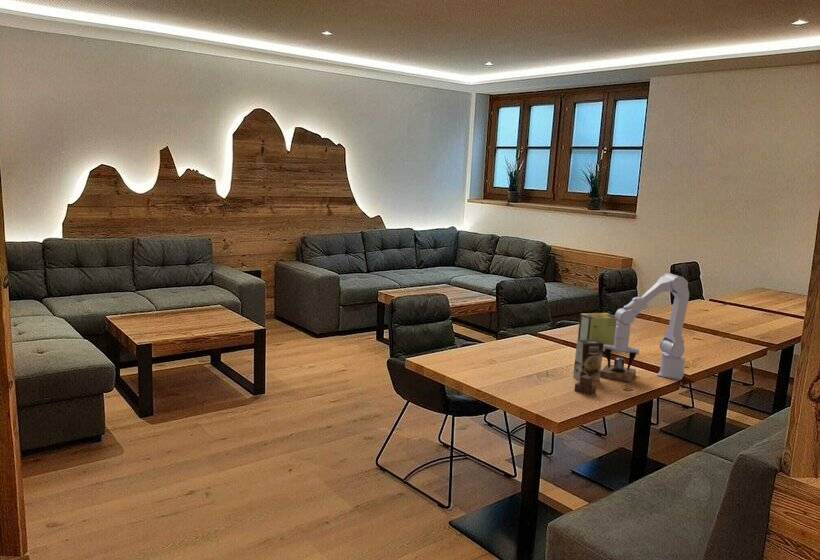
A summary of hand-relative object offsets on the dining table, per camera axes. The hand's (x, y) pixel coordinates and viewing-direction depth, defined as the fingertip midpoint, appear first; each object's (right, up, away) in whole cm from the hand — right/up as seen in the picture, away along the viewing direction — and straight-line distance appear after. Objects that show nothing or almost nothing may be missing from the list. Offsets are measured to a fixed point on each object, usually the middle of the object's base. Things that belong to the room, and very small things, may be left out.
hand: (618, 368), depth 269 cm
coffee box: (-15, -4, -5) cm, 16 cm away
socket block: (0, -3, +1) cm, 3 cm away
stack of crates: (-19, -7, -19) cm, 28 cm away
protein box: (+4, +5, +46) cm, 47 cm away
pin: (0, -3, +1) cm, 3 cm away
